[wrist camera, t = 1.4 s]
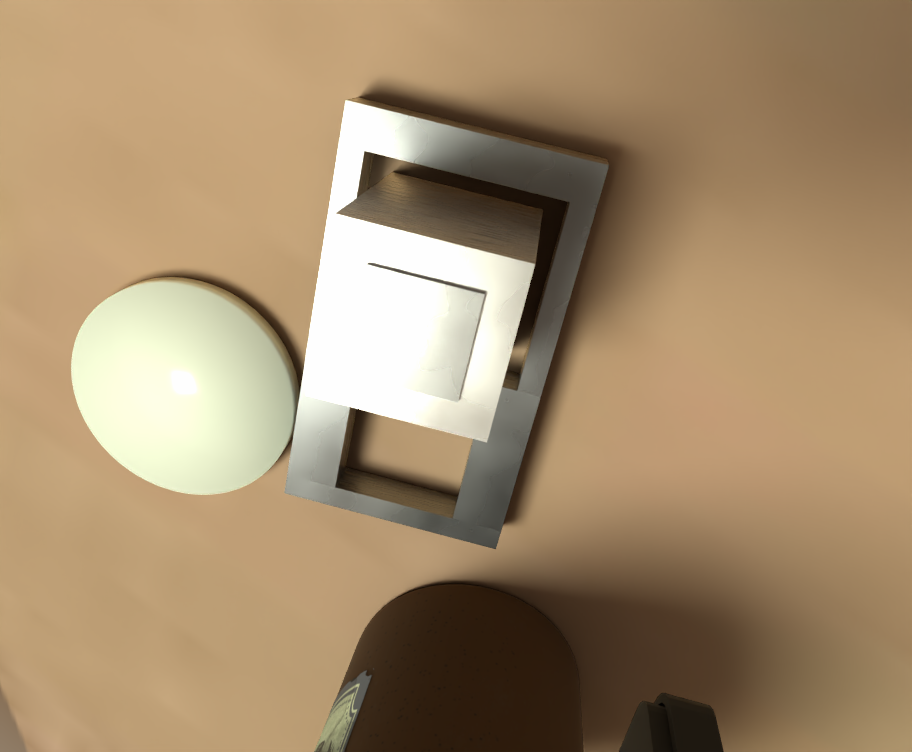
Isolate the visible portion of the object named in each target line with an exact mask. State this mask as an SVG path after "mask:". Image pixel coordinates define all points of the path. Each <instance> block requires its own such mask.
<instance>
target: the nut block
mask: <svg viewBox="0 0 912 752" xmlns="http://www.w3.org/2000/svg"><path fill="white" fill-rule="evenodd" d="M542 213H543V209H539V208H535V207H531V206H527V205H523V204H519V203H515V202H511V201H507V200H503V199H499V198H495V197H491V196H487V195H483V194H479V193H475V192H471V191H467V190H463V189H459V188H455V187H451V186H447V185H443V184H439V183H435V182H431V181H427V180H423V179H419V178H415V177H411V176H407V175H403V174H399V173H395V172H392V173H391V174H389V175H388V176H387V177H385V178H384V179H382V180H381V181H380V182H378V183H377V184H375V185H374V186H373V187H371V188H370V189H368V190H367V191H366V192H364V193H363V194H361V195H360V196H359V197H357V198H356V199H354V200H353V201H352V202H350V203H349V204H347V205H346V206H345V207H343V208H342V209H340V210H339V211H338V212H336V213H335V215H334V221H333V227H332V234H331V240H330V246H329V253H328V259H327V265H326V271H325V278H324V284H323V290H322V297H321V303H320V309H319V316H318V322H317V328H316V334H315V341H314V347H313V353H312V360H311V366H310V372H309V379H308V385H307V391H306V396H310V397H314V398H317V399H321V400H325V401H329V402H333V403H337V404H341V405H344V406H348V407H352V408H356V409H360V410H364V411H367V412H371V413H375V414H379V415H383V416H387V417H391V418H394V419H398V420H402V421H406V422H410V423H414V424H417V425H421V426H425V427H429V428H433V429H437V430H441V431H444V432H448V433H452V434H456V435H460V436H464V437H468V438H471V439H475V440H479V441H483V442H487V440H488V437H489V433H490V429H491V426H492V422H493V418H494V415H495V411H496V407H497V404H498V400H499V396H500V393H501V389H502V385H503V381H504V378H505V374H506V370H507V367H508V363H509V359H510V356H511V352H512V348H513V345H514V341H515V337H516V334H517V330H518V326H519V322H520V319H521V315H522V311H523V308H524V304H525V300H526V297H527V293H528V289H529V286H530V282H531V278H532V275H533V271H534V267H535V263H536V256H537V248H538V241H539V234H540V227H541V220H542Z"/></svg>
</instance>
